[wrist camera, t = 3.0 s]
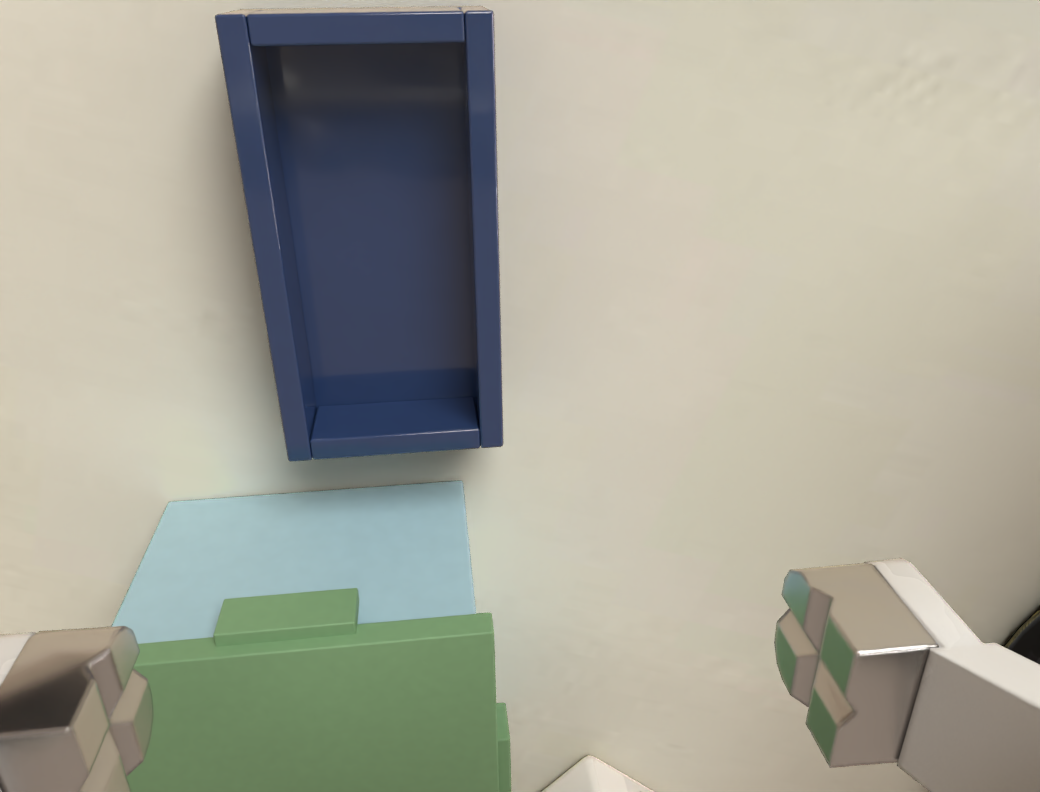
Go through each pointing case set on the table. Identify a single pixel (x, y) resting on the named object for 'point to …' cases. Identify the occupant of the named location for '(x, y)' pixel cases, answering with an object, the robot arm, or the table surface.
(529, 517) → the table surface
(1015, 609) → the table surface
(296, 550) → the box
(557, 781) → the container
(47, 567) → the table surface
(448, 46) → the low blue storage tray
